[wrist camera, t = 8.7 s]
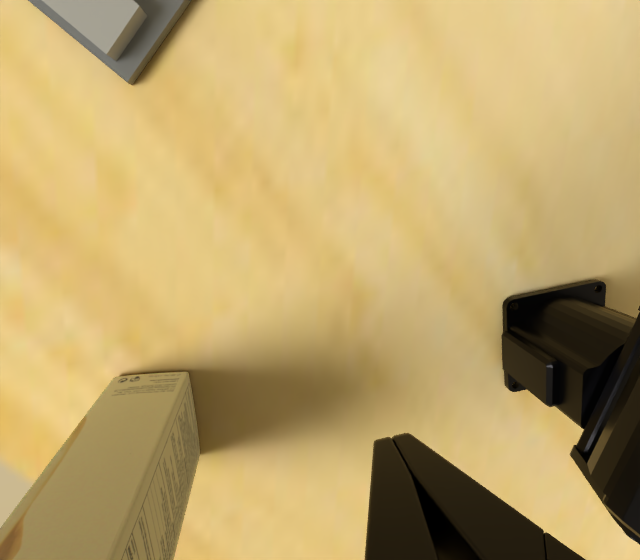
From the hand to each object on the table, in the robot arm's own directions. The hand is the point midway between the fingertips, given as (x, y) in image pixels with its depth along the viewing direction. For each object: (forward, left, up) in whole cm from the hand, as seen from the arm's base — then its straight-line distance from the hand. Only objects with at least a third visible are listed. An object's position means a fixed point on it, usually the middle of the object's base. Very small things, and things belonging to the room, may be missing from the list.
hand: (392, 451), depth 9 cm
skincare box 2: (+11, +6, -13) cm, 18 cm away
